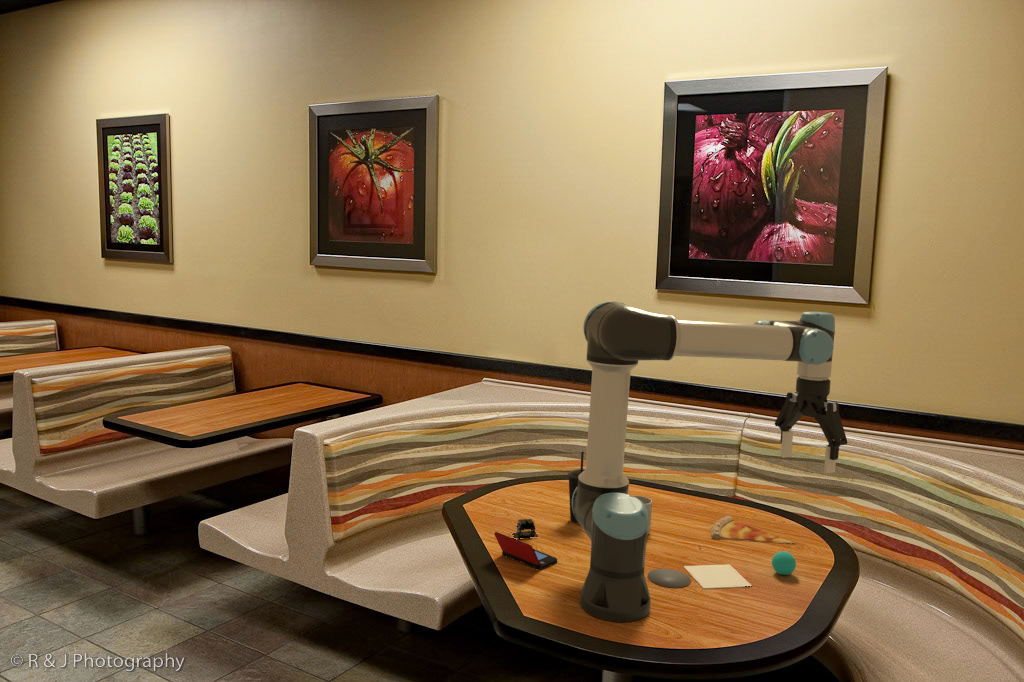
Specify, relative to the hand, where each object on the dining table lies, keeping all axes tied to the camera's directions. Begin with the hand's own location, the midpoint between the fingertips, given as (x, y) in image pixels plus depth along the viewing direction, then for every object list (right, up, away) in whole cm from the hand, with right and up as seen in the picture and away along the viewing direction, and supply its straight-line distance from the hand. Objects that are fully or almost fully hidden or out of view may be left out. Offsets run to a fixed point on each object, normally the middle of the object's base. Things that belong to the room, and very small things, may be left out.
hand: (807, 464), depth 186 cm
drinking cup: (-52, -21, +32) cm, 65 cm away
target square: (-22, -27, -1) cm, 34 cm away
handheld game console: (-68, -25, +4) cm, 72 cm away
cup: (-37, -23, +24) cm, 49 cm away
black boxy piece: (-67, -23, +20) cm, 74 cm away
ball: (-5, -24, +1) cm, 25 cm away
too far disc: (-34, -26, -3) cm, 43 cm away
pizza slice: (-8, -24, +24) cm, 35 cm away
